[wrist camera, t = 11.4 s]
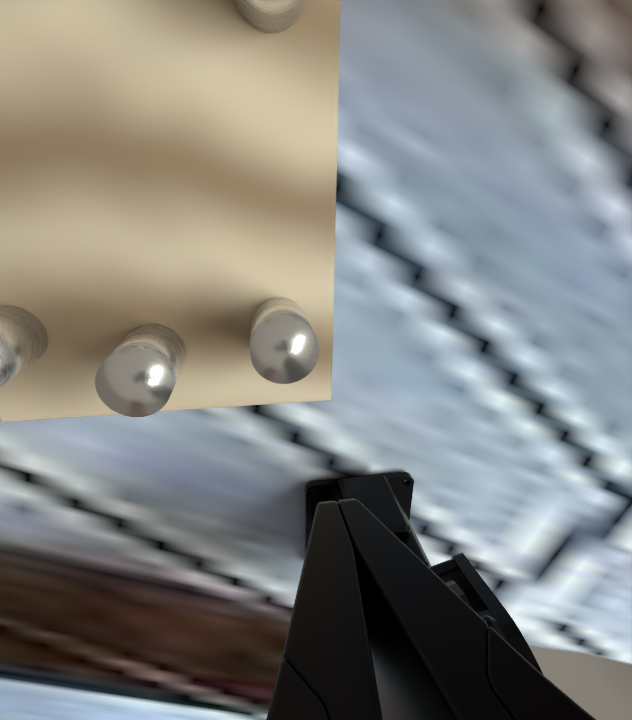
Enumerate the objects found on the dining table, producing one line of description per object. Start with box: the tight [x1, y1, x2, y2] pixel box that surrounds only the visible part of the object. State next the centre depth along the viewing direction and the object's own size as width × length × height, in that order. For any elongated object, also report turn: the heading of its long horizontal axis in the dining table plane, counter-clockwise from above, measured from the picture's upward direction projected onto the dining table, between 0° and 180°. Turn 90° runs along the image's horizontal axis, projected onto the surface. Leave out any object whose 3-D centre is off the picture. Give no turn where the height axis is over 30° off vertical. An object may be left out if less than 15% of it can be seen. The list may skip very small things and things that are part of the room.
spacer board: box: [0, 0, 341, 422], centre depth 15 cm, size 20×15×1 cm
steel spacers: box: [0, 0, 320, 417], centre depth 13 cm, size 17×14×4 cm
